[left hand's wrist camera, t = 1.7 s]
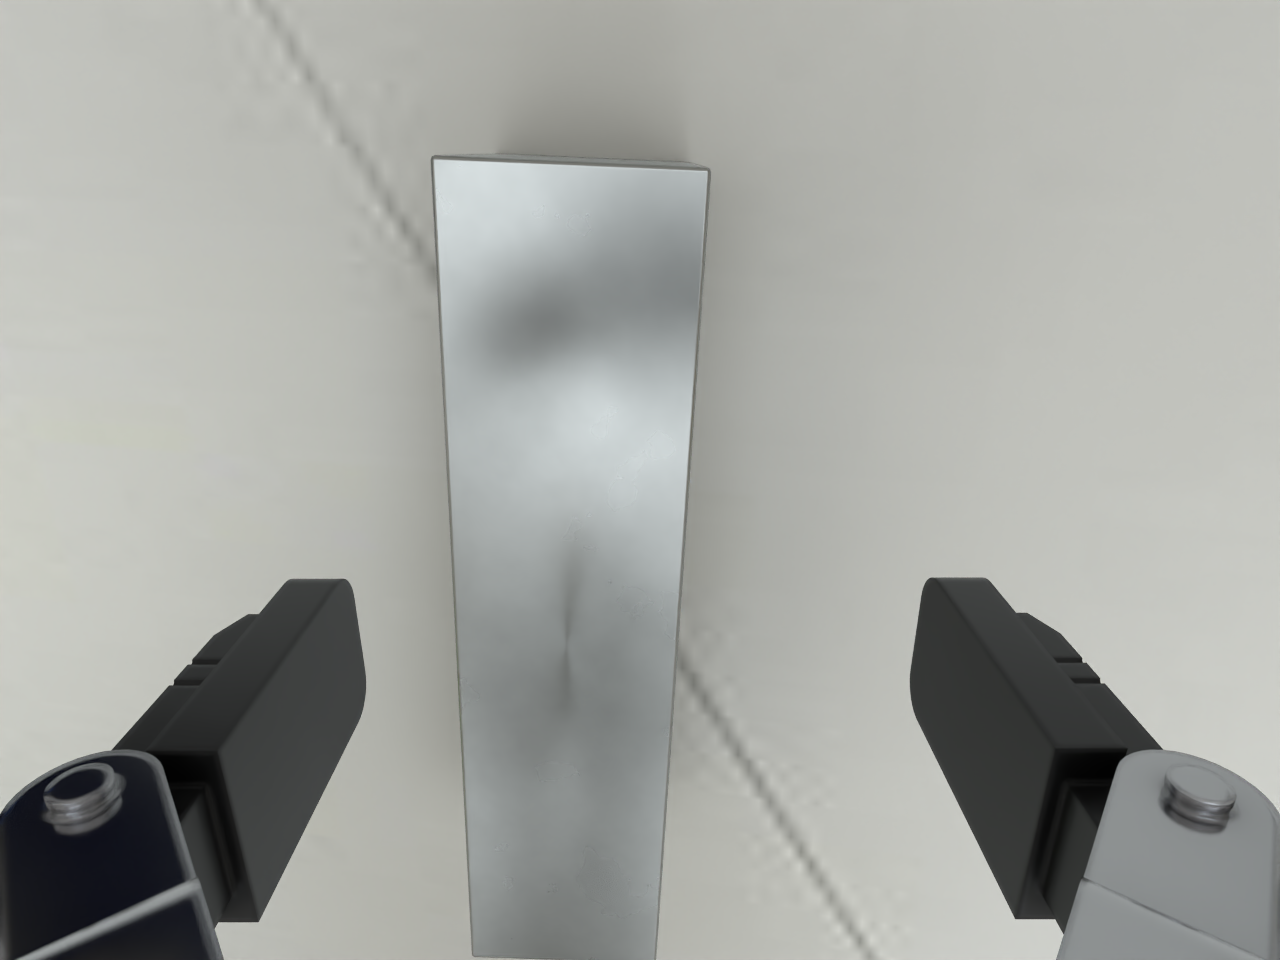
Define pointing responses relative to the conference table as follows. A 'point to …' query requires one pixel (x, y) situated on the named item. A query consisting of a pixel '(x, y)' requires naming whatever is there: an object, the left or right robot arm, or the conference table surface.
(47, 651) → the conference table surface
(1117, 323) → the conference table surface
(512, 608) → the bar
